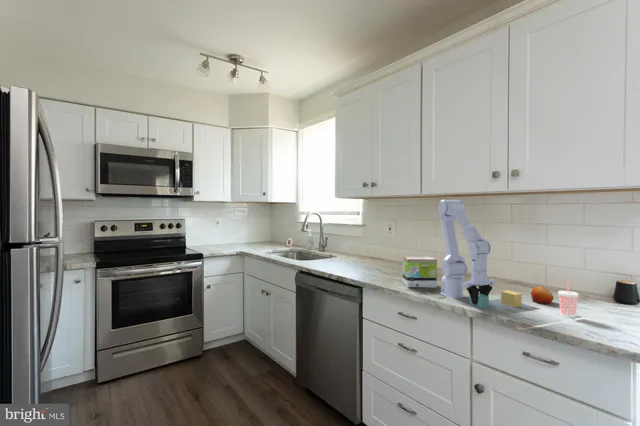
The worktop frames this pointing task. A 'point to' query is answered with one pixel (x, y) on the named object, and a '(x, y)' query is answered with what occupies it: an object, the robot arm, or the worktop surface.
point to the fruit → (541, 295)
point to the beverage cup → (568, 302)
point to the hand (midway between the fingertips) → (478, 303)
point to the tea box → (419, 271)
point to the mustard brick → (511, 298)
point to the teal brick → (481, 301)
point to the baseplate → (512, 309)
